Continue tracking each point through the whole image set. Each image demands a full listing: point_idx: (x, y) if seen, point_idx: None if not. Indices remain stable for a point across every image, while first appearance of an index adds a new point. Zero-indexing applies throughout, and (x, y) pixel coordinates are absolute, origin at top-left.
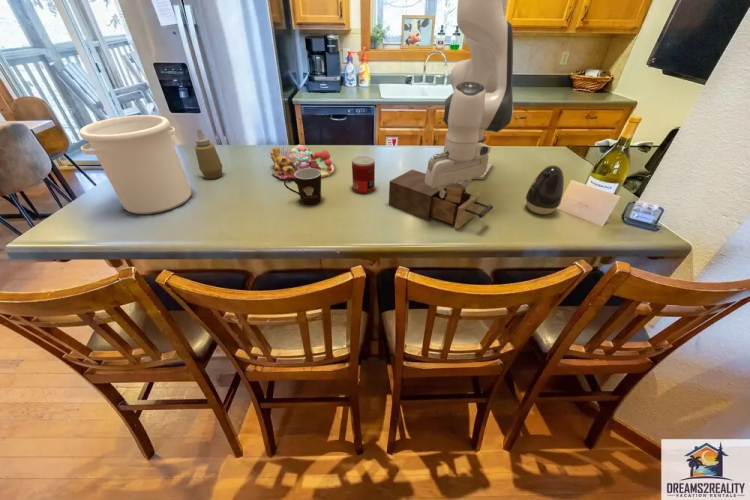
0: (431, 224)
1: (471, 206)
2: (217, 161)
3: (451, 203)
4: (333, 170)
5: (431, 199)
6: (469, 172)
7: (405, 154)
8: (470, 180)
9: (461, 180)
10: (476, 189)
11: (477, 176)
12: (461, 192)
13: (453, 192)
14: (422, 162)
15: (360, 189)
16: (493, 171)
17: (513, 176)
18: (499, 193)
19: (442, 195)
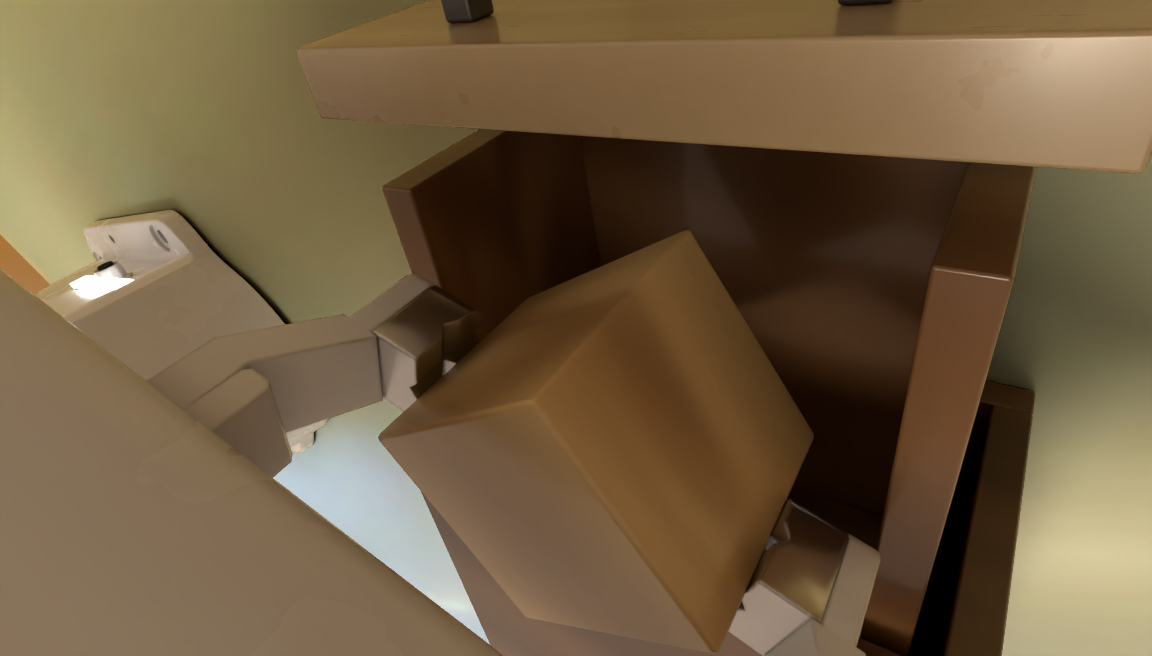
0: (1119, 334)
1: (595, 5)
2: None
3: (941, 372)
4: None
5: (964, 647)
6: (37, 593)
7: None
8: (213, 361)
9: (365, 582)
10: (264, 194)
11: (35, 314)
12: (571, 362)
13: (674, 485)
14: (360, 520)
15: None
16: (99, 192)
17: (12, 61)
18: (148, 16)
19: (861, 603)
